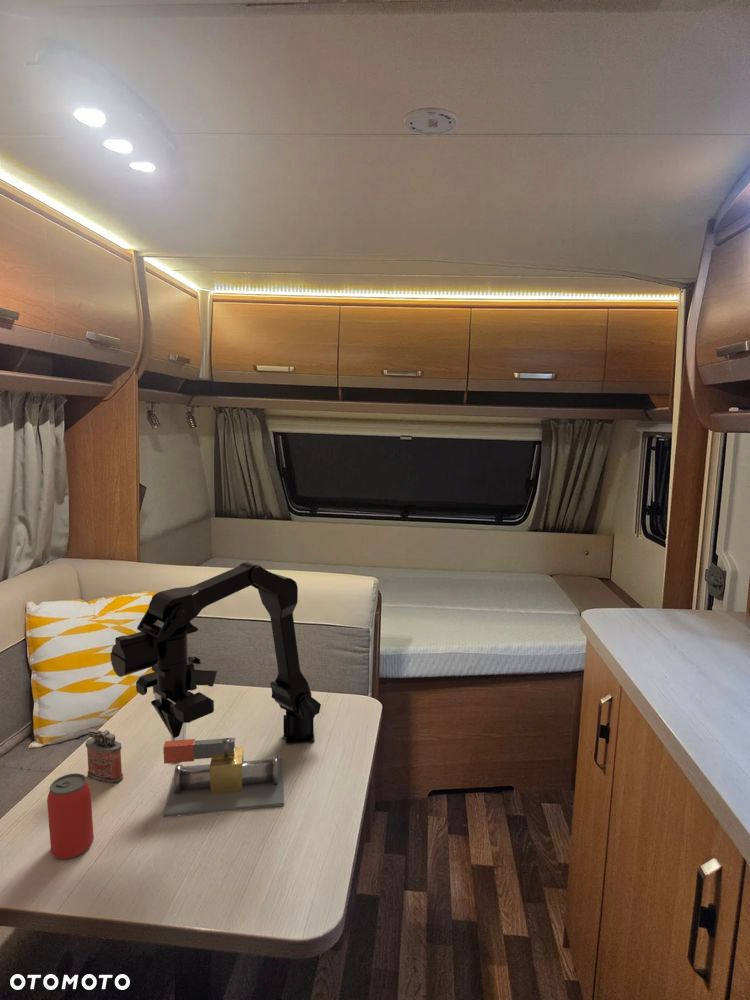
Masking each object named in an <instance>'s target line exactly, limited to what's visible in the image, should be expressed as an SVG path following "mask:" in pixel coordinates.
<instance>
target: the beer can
mask: <svg viewBox="0 0 750 1000" xmlns="http://www.w3.org/2000/svg"><path fill="white" fill-rule="evenodd" d="M47 794H48V795H47V799H46V803H47V816H48V817H47V818H48V827H49V829H48V830H49V844H50V853H51V854H52V856H53V857H54V858H58V859H61V860H66V859H67V860H68V859H73V858H77V857H78V856H79V855H82V854H83V853H85V852H86V851H87V850H88V849H89V848H90V847H91V846H92V844H93V841H94V838H95V836H94V821H93V808H92V807H93V806H92V793H91V787H90V784H89V782H88V781H87V776H86V775H85V774H82V773H69V774H65V775H62V776H60V777H58V778H57V779H55V780H54V781H53V782H51V784H50V786H49V792H48V793H47Z"/></svg>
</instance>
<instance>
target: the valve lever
mask: <svg viewBox="0 0 750 1000" xmlns="http://www.w3.org/2000/svg"><path fill="white" fill-rule="evenodd" d="M235 742H236V737H224V738H215V739H213V738H212V739H200V740H199V739H198V740H196V738H190V739H189V738H188V739H186V740H174V739H173V740H165V741H164V744H163V764H176V763H177V764H178V763H186V762H187V763H188V762H190V763H191V762H195V760H201V759H202V760H203V759H204V760H205V759H211V758H217V757H230V756H235V747H236V743H235Z"/></svg>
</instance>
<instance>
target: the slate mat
mask: <svg viewBox="0 0 750 1000" xmlns="http://www.w3.org/2000/svg"><path fill="white" fill-rule="evenodd" d="M268 760H273V758H270V759H269V758H268V759H257V760H256V759H255V760H254V759H253V760H245V761H244V762H256V761H268ZM209 765H210V764H196V765H187V766H183V768H185V767H197V766H209ZM284 792H285V790H284V758H283V757H280V758H279V757H278V785H273V782H265V783H254V784H243V790H242V792H237V793H226V794H215V795H211V787H209V788H198V789H187V790H181V793H180V794H175V793H174V778H173V779H172V783H171V786H170V790H169V794H168V797H167V801H166V804H165V808H164V811H163V818H169V817H168V816H172V817H179V816H178V815H182V816H190V815H192V816H193V815H202V814H212V813H221V812H223V813H224V812H232V811H241V810H253V809H262V808H273V807H282V806H283V807H284V806H285V797H284V795H285V793H284Z"/></svg>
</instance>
